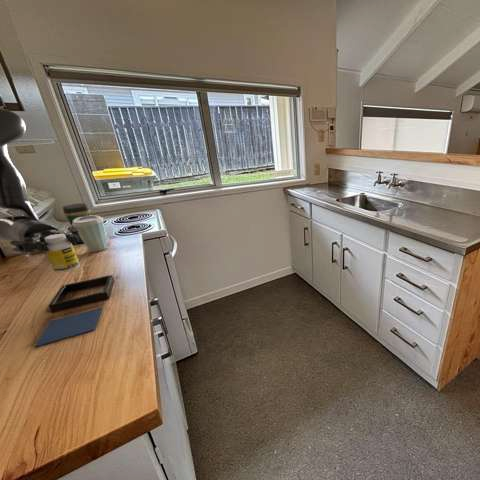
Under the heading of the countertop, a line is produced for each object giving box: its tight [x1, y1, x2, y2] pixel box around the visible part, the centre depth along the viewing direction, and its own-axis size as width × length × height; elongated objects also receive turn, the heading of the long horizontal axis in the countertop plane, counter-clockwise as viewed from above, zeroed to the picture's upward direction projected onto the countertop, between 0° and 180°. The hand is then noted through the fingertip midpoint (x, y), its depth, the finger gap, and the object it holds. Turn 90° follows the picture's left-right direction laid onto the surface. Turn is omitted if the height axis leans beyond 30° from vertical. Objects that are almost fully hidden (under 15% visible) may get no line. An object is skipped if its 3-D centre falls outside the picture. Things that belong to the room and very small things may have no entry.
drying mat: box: [34, 307, 103, 348], centre depth 67 cm, size 11×11×1 cm
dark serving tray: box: [48, 274, 115, 314], centre depth 80 cm, size 13×13×2 cm
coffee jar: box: [62, 202, 91, 244], centre depth 126 cm, size 10×8×19 cm
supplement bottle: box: [44, 234, 81, 274], centre depth 71 cm, size 5×5×10 cm
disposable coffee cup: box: [72, 214, 108, 253], centre depth 115 cm, size 11×11×15 cm
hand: (60, 243), depth 68 cm, fingers closed on supplement bottle, 5 cm apart
